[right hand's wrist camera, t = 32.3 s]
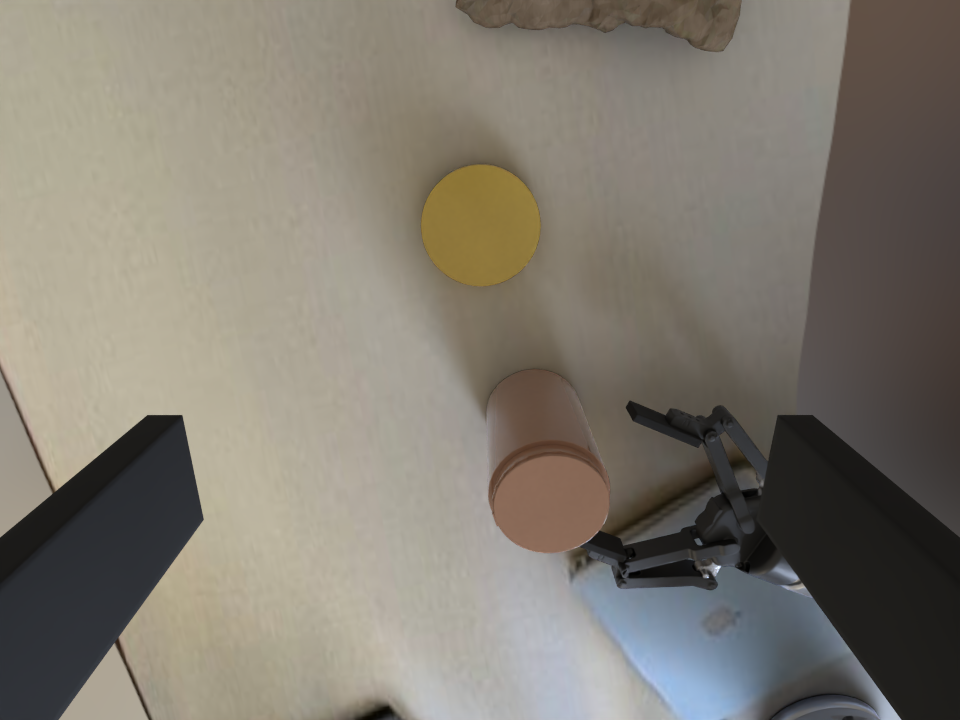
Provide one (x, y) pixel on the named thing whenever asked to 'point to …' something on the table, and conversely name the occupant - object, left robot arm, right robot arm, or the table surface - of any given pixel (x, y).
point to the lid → (480, 225)
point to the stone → (616, 16)
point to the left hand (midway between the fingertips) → (594, 471)
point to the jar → (543, 464)
